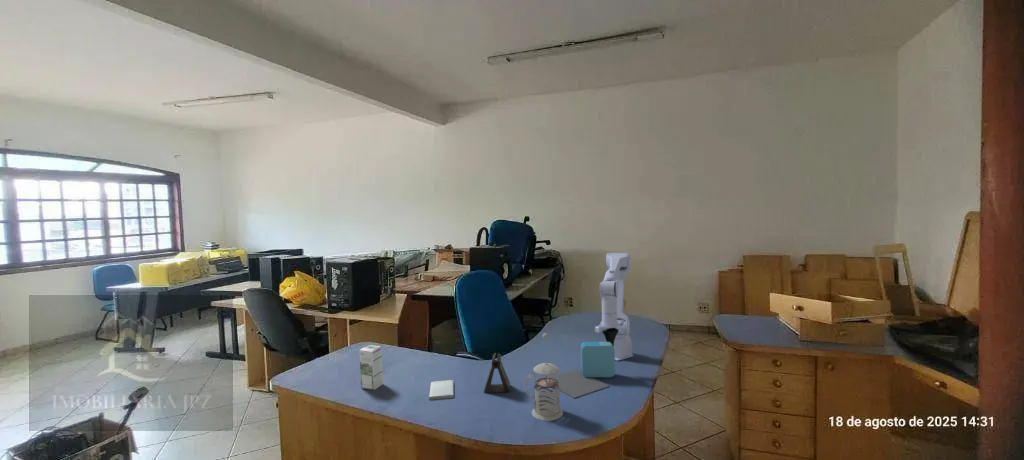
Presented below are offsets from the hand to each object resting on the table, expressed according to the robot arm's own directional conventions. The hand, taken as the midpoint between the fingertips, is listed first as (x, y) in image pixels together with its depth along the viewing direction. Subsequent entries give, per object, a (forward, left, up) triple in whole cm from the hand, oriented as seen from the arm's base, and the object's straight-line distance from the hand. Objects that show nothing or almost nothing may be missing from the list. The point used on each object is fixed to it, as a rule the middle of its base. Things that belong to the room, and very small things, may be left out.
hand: (610, 347), depth 154 cm
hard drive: (+60, -22, -10) cm, 65 cm away
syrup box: (+80, -40, -10) cm, 90 cm away
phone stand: (+43, -12, -10) cm, 46 cm away
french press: (+39, +11, -10) cm, 42 cm away
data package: (+6, 0, -10) cm, 11 cm away
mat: (+17, 0, -10) cm, 20 cm away
